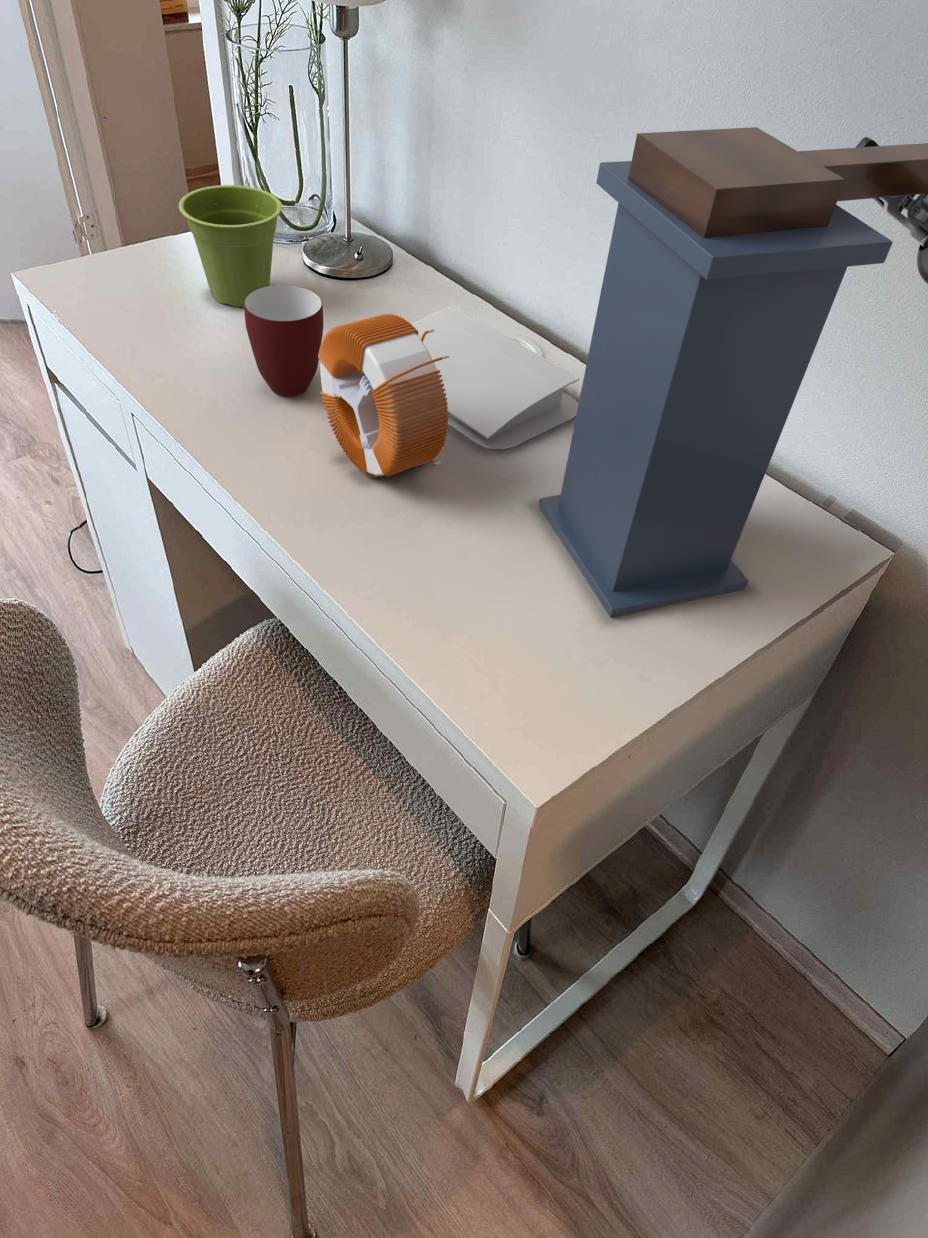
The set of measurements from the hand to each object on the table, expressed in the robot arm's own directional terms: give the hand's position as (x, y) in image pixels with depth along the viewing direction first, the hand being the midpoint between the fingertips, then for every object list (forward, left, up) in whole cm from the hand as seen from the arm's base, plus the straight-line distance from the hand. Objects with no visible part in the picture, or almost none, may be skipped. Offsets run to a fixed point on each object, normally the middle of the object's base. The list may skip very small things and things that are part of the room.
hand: (893, 170), depth 64 cm
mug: (+51, -16, -34) cm, 63 cm away
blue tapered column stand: (+12, +5, -33) cm, 36 cm away
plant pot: (+61, -35, -34) cm, 77 cm away
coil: (+38, -4, -34) cm, 51 cm away
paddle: (+6, +3, -1) cm, 7 cm away
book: (+30, -20, -34) cm, 49 cm away
